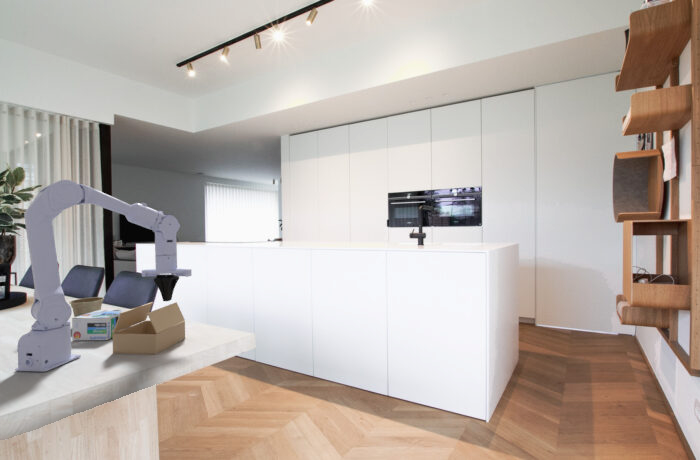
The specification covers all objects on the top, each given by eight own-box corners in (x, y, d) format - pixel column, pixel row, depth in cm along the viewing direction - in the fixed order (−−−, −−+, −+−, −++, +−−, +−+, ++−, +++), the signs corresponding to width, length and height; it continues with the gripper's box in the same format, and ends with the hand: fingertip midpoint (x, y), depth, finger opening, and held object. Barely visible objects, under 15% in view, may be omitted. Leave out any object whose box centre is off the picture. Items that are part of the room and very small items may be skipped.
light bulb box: (131, 309, 113) (107, 317, 102) (131, 330, 113) (107, 340, 102) (98, 309, 113) (70, 317, 102) (98, 330, 113) (70, 341, 102)
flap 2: (156, 333, 91) (157, 333, 91) (147, 313, 91) (148, 312, 91) (184, 320, 103) (184, 320, 103) (175, 302, 103) (176, 302, 103)
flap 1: (121, 312, 92) (120, 312, 92) (113, 333, 92) (112, 332, 92) (153, 302, 104) (152, 302, 104) (145, 320, 104) (144, 319, 104)
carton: (156, 354, 91) (155, 334, 91) (112, 353, 92) (112, 333, 92) (185, 338, 104) (184, 320, 103) (146, 337, 105) (146, 320, 105)
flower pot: (62, 328, 116) (61, 302, 115) (91, 321, 125) (90, 296, 124) (83, 330, 113) (83, 303, 113) (111, 322, 122) (110, 297, 122)
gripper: (196, 253, 109) (197, 297, 109) (152, 254, 111) (153, 297, 111) (183, 255, 102) (184, 302, 102) (136, 256, 104) (137, 302, 104)
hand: (167, 300), depth 106 cm, fingers closed
